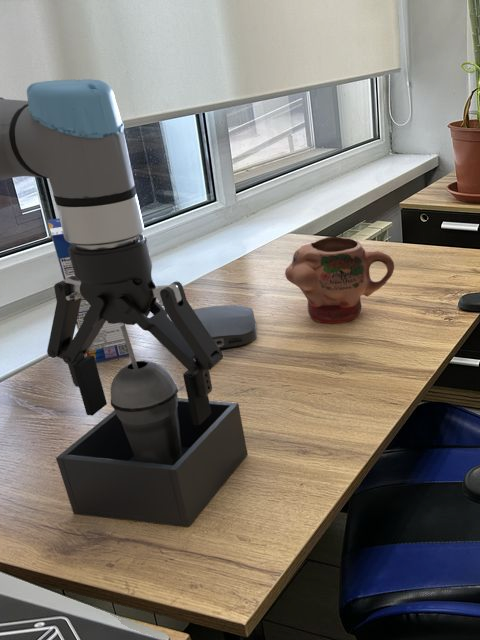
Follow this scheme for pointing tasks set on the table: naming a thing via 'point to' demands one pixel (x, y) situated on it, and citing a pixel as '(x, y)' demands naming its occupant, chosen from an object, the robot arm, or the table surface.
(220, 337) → the media streaming box
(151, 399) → the beverage cup
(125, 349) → the beverage box
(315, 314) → the pink ceramic mug
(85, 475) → the desk bin
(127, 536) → the table surface
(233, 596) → the table surface
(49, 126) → the robot arm
